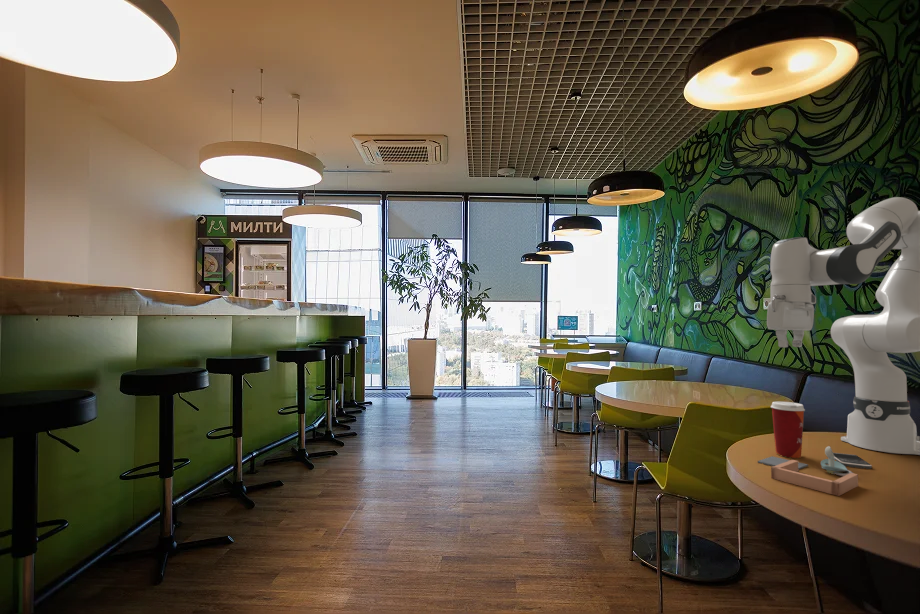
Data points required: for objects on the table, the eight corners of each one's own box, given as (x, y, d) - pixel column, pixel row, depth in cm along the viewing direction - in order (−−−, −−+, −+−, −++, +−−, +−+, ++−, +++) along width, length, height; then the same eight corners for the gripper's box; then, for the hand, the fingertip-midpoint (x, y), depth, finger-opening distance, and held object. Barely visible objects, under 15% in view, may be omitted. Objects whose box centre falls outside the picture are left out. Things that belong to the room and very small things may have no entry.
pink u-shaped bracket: (792, 469, 109) (792, 459, 109) (858, 485, 98) (857, 474, 98) (771, 478, 103) (771, 467, 103) (838, 496, 92) (838, 483, 92)
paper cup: (812, 460, 117) (811, 406, 118) (779, 458, 119) (778, 405, 119) (796, 451, 125) (795, 401, 125) (765, 450, 126) (765, 400, 127)
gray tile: (772, 457, 119) (772, 456, 119) (808, 466, 112) (808, 464, 112) (757, 462, 114) (757, 461, 114) (794, 471, 108) (794, 469, 108)
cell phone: (841, 468, 112) (841, 462, 112) (826, 456, 122) (826, 451, 123) (873, 471, 110) (873, 466, 110) (855, 459, 120) (855, 454, 120)
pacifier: (851, 472, 108) (820, 466, 112) (852, 446, 108) (820, 441, 112) (855, 481, 102) (821, 474, 106) (856, 453, 103) (822, 448, 106)
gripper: (787, 293, 113) (787, 348, 113) (818, 297, 125) (818, 347, 124) (759, 294, 119) (759, 346, 118) (792, 298, 130) (792, 346, 129)
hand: (790, 347), depth 121 cm, fingers open, 7 cm apart
